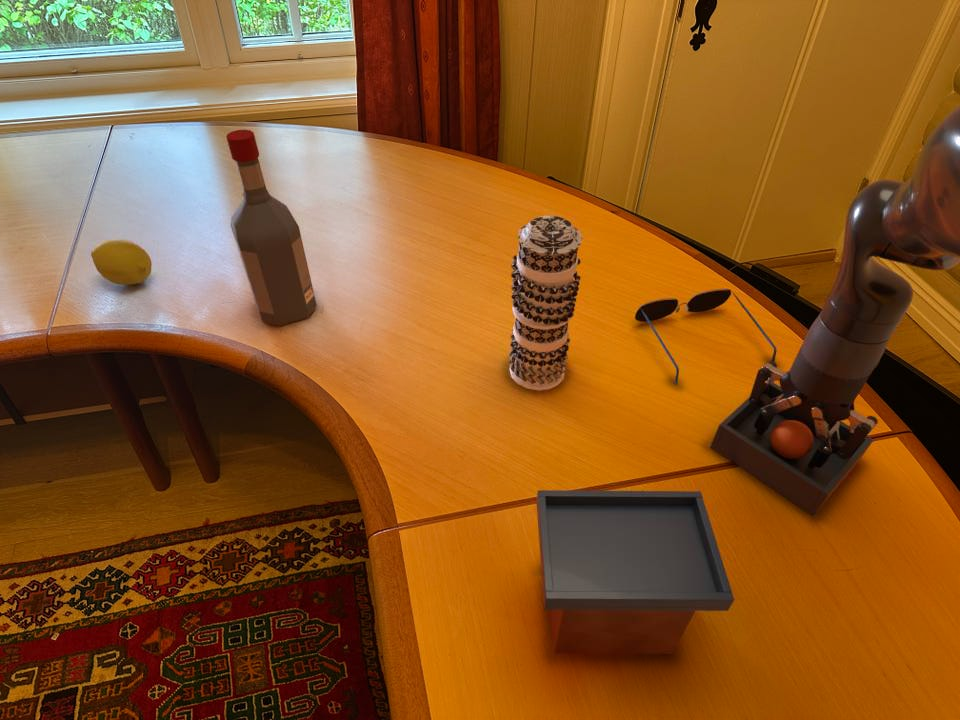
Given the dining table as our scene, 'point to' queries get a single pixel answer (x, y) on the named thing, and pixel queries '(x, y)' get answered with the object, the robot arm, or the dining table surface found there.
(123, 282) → the lemon
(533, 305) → the decorative candle
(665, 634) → the stand
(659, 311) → the sunglasses
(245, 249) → the liquor
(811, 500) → the bin
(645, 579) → the tray
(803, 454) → the ball
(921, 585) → the dining table surface
